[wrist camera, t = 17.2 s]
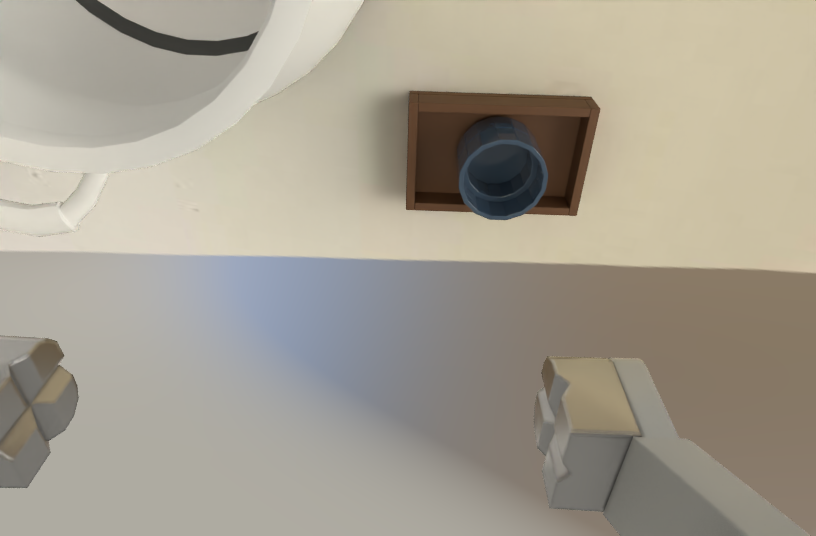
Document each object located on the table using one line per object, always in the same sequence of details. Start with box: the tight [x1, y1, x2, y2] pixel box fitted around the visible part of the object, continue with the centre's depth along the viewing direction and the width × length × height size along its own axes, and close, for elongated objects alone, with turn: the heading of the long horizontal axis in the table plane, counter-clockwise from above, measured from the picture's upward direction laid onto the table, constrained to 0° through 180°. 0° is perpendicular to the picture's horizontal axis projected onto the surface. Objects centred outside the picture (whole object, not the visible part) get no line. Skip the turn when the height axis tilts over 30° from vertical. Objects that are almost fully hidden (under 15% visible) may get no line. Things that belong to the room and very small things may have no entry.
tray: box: [406, 91, 600, 216], centre depth 39 cm, size 12×8×2 cm, turn 89°
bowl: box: [456, 117, 548, 220], centre depth 38 cm, size 6×6×4 cm
